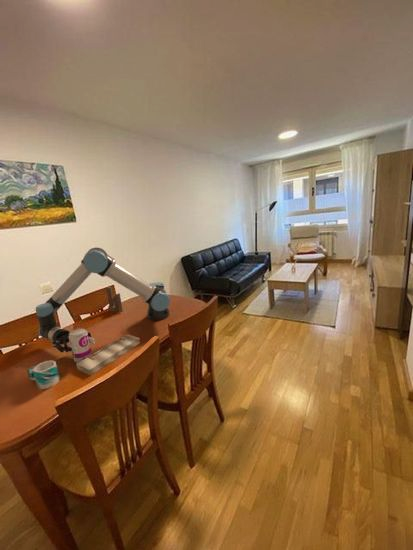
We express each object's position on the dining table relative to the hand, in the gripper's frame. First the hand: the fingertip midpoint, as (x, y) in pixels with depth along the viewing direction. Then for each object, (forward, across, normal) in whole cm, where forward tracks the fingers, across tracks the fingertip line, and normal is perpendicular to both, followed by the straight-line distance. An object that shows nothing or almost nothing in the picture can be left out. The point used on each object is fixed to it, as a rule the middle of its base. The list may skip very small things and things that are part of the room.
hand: (85, 345), depth 115 cm
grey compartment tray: (+5, -9, -9) cm, 14 cm away
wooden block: (-40, -48, -9) cm, 64 cm away
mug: (-5, +18, -9) cm, 21 cm away
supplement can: (-5, 0, -9) cm, 10 cm away
